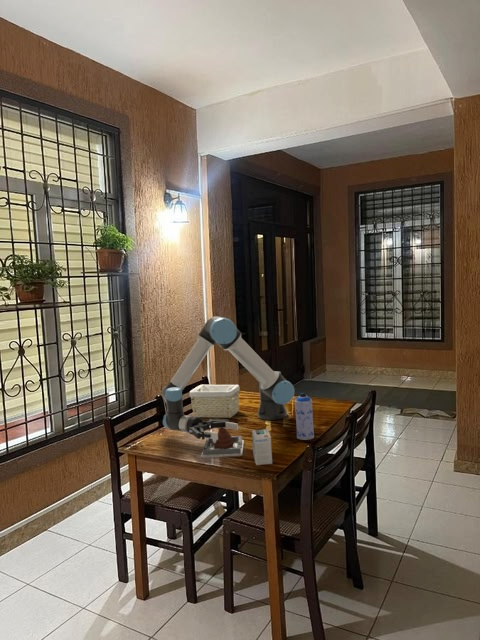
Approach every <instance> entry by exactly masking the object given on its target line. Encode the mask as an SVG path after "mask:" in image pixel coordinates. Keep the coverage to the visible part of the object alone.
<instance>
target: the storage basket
mask: <svg viewBox="0 0 480 640" xmlns="http://www.w3.org/2000/svg"><path fill="white" fill-rule="evenodd" d="M240 390H241V389H240V385H239V384H200V385H197V386H196V387H195V388H192V389H191V390H190V391H189V397H190V401H191V407H192V414H193V417H199V418H207V419H208V418H215V419H217V418H218V419H219V418H220V419H221V418H222V419H224V418H225V419H226V418H227V419H230V418H233V417H234V416H235V415H236V414H237V413H238V412H239V410H240Z"/></svg>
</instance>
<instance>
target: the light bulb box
mask: <svg viewBox="0 0 480 640" xmlns="http://www.w3.org/2000/svg"><path fill="white" fill-rule="evenodd" d="M251 437H252V438H251V439H252V454H253V460H254V462H255V465H256V466H261V465H270V464H271V465H272V464H273V453H272V437H271V434H270V432H269V430H268V428H265V429H255V430H254V429H253V430H251Z"/></svg>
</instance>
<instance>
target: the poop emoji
mask: <svg viewBox="0 0 480 640" xmlns="http://www.w3.org/2000/svg"><path fill="white" fill-rule="evenodd" d="M217 433H218V440H215V439H212V441H213V442H214V447H215V449H220V448H232V446H233V444H234V442H233V439H232V437H231V436H232V435H231V434H230V433H229V431H228V430H227V428H226V427H220V428H219V430H218V432H217Z"/></svg>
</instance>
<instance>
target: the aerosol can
mask: <svg viewBox="0 0 480 640" xmlns="http://www.w3.org/2000/svg"><path fill="white" fill-rule="evenodd" d="M294 406H295V407H294V409H295V420H296V421H295V422H296V424H295V425H296V439H298V440H301V441H302V440H305V441H307V440H312V439H314V438H315V432H314V415H313V400H312V398H311V397H310V396H308V395H306V392H300V395H298V396H297V398H296V399H294Z"/></svg>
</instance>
